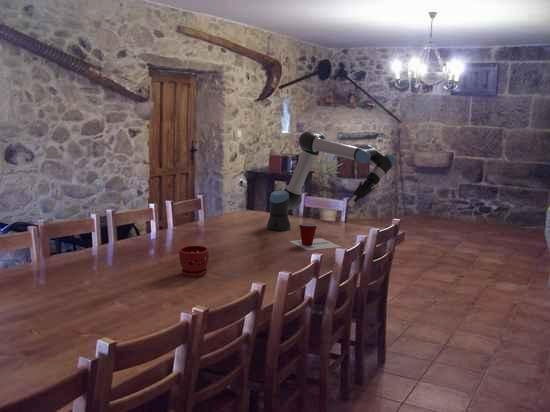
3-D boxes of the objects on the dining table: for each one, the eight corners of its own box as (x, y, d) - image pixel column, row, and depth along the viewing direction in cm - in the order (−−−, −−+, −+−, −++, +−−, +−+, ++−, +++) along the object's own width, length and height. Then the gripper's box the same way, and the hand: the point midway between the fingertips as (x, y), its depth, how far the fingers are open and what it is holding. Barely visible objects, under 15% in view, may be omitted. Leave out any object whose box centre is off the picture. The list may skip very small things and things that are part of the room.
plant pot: (183, 269, 266) (183, 244, 264) (211, 271, 265) (211, 245, 263) (175, 277, 253) (175, 251, 251) (205, 279, 252) (205, 252, 250)
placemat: (288, 241, 329) (288, 240, 329) (321, 238, 339) (321, 238, 339) (307, 250, 310) (307, 249, 310) (341, 246, 319) (341, 246, 319)
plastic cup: (317, 242, 327) (318, 222, 325) (316, 247, 316) (317, 225, 314) (298, 241, 328) (299, 221, 326) (296, 245, 318) (297, 224, 316)
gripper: (385, 181, 330) (359, 211, 326) (372, 178, 342) (347, 207, 338) (378, 172, 327) (352, 202, 323) (365, 170, 339) (340, 199, 334)
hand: (349, 205), depth 330 cm, fingers closed
